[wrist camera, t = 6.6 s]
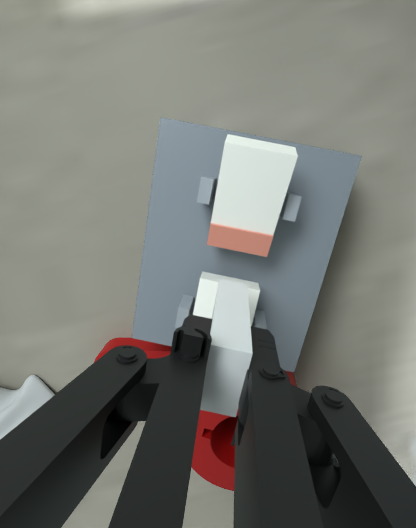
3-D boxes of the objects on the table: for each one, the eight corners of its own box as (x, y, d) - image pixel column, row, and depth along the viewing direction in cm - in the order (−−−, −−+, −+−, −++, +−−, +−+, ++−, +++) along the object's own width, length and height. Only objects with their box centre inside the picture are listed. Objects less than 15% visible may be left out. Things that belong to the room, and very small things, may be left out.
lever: (308, 354, 28) (329, 408, 22) (277, 436, 31) (287, 505, 25) (111, 304, 29) (75, 343, 22) (97, 390, 32) (62, 446, 25)
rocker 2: (202, 271, 21) (199, 278, 19) (258, 282, 20) (260, 291, 19) (186, 355, 22) (182, 369, 20) (238, 366, 22) (238, 381, 20)
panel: (175, 127, 24) (151, 111, 17) (340, 159, 24) (383, 155, 17) (149, 309, 28) (121, 354, 21) (287, 338, 28) (304, 393, 21)
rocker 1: (227, 134, 17) (224, 142, 16) (295, 147, 17) (298, 157, 16) (210, 231, 21) (206, 246, 19) (266, 243, 20) (266, 258, 19)
